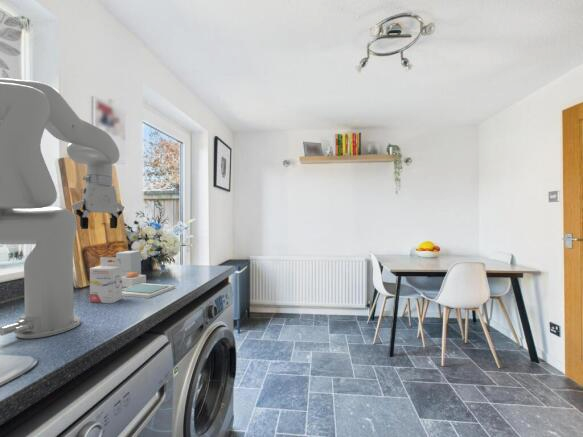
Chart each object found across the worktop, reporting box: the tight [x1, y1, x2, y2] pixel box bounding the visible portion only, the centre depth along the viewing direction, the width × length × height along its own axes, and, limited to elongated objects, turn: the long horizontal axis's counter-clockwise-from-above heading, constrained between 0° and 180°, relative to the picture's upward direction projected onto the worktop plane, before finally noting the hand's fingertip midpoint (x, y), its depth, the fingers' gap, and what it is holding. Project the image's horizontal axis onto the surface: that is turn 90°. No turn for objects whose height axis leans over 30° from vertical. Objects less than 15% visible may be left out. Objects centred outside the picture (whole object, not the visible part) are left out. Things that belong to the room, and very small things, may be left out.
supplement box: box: [115, 250, 142, 277], centre depth 126 cm, size 7×7×13 cm
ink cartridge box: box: [89, 256, 123, 304], centre depth 94 cm, size 9×5×15 cm, turn 85°
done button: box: [127, 272, 138, 278], centre depth 116 cm, size 4×4×2 cm
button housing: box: [122, 274, 147, 288], centre depth 116 cm, size 7×7×4 cm
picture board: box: [122, 282, 176, 299], centre depth 106 cm, size 14×16×1 cm
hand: (99, 228), depth 100 cm, fingers open, 9 cm apart
